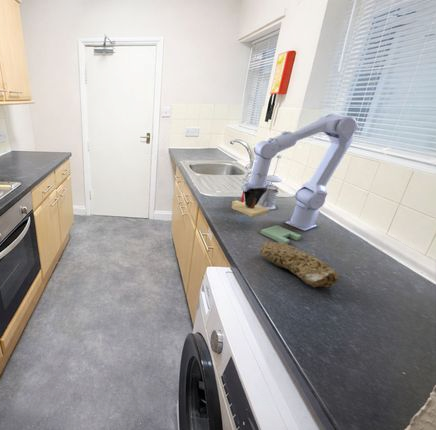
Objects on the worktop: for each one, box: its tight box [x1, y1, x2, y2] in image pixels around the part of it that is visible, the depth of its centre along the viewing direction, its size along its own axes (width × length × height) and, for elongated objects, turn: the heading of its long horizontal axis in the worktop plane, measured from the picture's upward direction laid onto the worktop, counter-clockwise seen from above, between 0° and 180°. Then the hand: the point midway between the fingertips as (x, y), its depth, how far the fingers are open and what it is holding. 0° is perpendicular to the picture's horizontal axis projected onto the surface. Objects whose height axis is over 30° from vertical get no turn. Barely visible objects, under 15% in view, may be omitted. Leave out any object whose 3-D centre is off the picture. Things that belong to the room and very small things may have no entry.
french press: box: [257, 154, 283, 210], centre depth 125 cm, size 10×12×25 cm
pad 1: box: [231, 198, 270, 218], centre depth 110 cm, size 10×13×6 cm
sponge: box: [259, 241, 340, 288], centre depth 82 cm, size 13×8×20 cm
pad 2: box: [260, 224, 302, 245], centre depth 103 cm, size 10×10×2 cm
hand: (250, 205), depth 109 cm, fingers closed on pad 1, 3 cm apart
